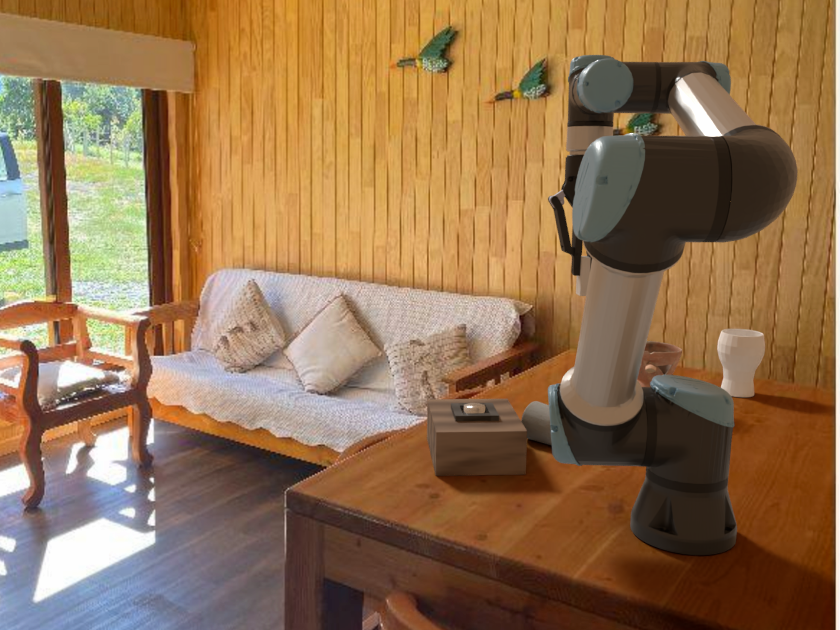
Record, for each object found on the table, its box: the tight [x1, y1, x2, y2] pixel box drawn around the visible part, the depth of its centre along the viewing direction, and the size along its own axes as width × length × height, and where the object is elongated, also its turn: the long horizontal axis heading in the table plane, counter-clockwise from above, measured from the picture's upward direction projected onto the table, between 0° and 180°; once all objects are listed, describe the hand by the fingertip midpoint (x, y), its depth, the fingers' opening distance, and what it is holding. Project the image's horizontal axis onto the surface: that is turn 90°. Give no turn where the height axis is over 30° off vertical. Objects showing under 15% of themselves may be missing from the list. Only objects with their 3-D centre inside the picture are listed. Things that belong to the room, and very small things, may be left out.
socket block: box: [426, 398, 528, 477], centre depth 153 cm, size 20×16×9 cm
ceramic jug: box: [637, 340, 683, 387], centre depth 186 cm, size 18×14×14 cm
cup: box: [716, 328, 766, 398], centre depth 197 cm, size 11×11×15 cm
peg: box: [464, 403, 485, 413], centre depth 153 cm, size 4×4×8 cm
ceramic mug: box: [520, 400, 552, 447], centre depth 162 cm, size 11×8×8 cm
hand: (582, 294), depth 140 cm, fingers closed
